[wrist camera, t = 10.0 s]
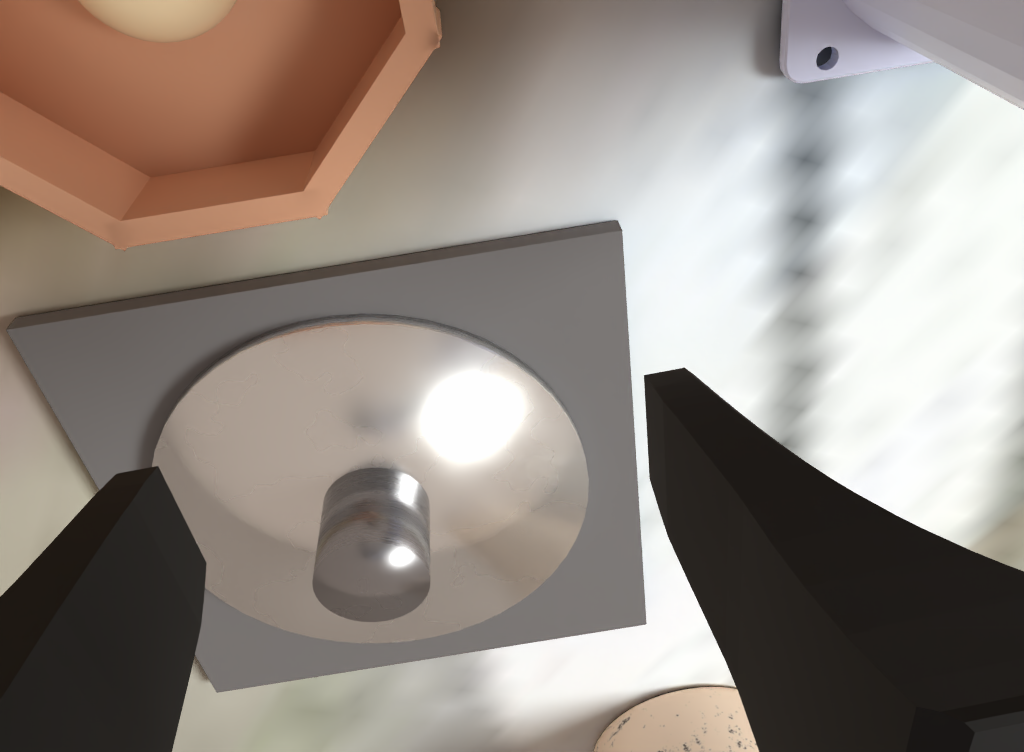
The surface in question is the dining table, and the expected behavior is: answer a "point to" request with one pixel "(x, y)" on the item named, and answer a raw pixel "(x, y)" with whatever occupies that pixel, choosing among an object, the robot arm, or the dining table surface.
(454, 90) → the dining table surface
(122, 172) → the terracotta bowl
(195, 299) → the charcoal mat
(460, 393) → the steel lid
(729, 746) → the teacup with lid
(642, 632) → the dining table surface
